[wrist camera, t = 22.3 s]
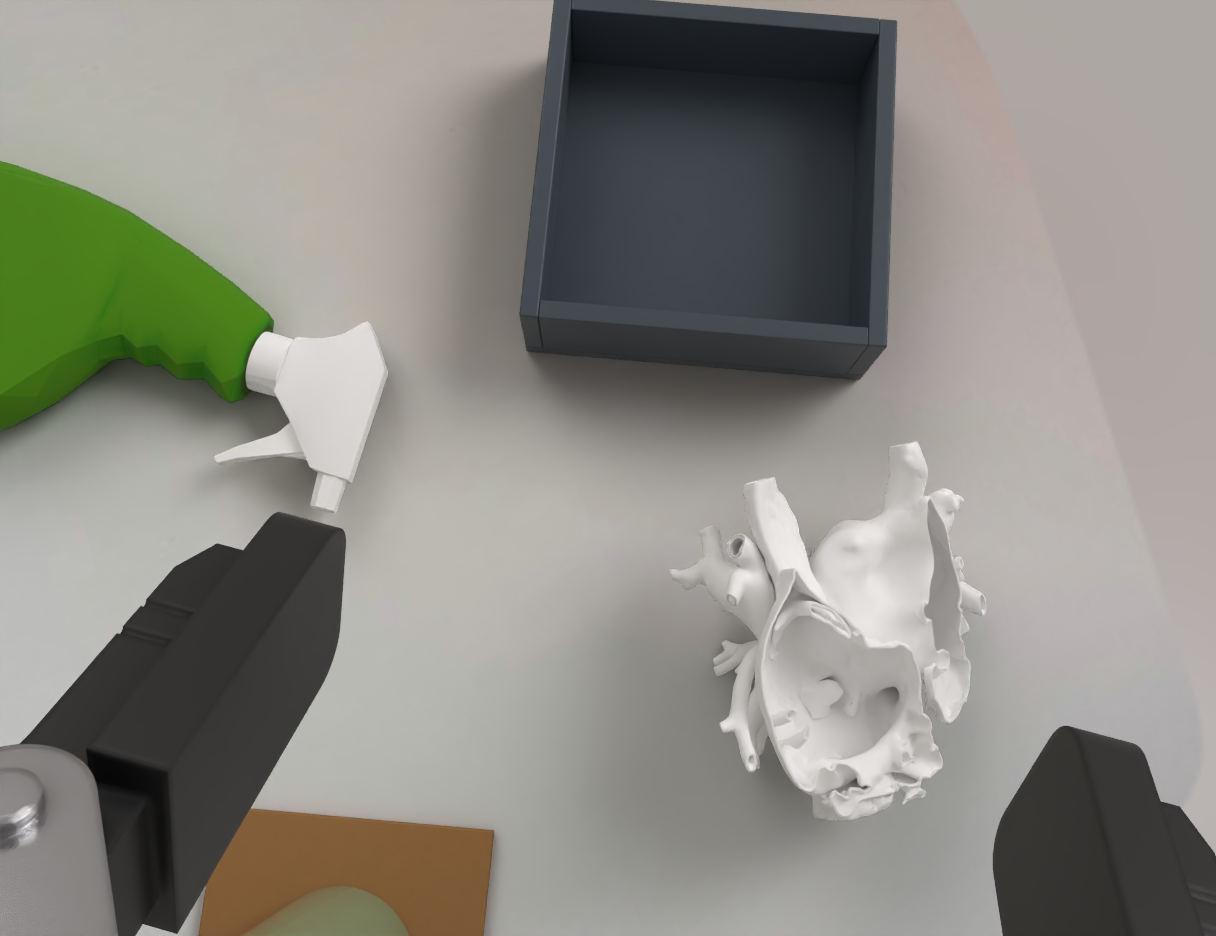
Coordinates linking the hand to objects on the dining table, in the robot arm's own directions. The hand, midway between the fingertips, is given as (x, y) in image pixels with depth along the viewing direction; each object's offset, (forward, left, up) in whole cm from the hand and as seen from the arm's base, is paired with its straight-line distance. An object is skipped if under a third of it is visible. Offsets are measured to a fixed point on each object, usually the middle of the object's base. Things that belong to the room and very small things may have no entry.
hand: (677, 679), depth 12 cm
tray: (-2, -20, -29) cm, 35 cm away
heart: (-8, -3, -29) cm, 30 cm away
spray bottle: (+22, -12, -29) cm, 38 cm away
